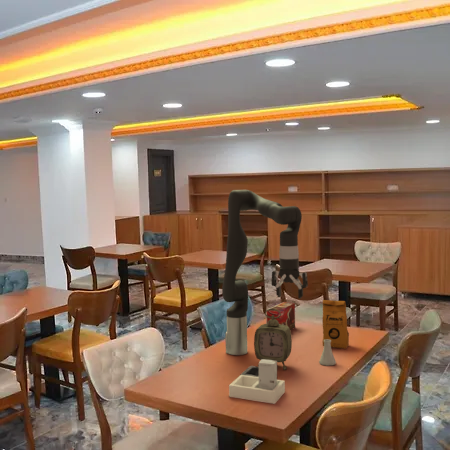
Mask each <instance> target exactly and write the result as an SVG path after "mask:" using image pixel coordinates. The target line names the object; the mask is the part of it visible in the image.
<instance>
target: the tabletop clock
mask: <svg viewBox="0 0 450 450" xmlns="http://www.w3.org/2000/svg"><path fill="white" fill-rule="evenodd" d="M269 310H274V311H278V312H279V313H280V311H279V310H277V309H270V308H268V310H267V309H265V311H264V316H265V317H268V318H271V319H270V320H269V321H268V322H267V324H266V323H263V324H260V326H258V327H257V328H256V329H255V332H254V335H253V336H254V337H253V340H254V341H253V347H254V354H255V357H256V359H257V360H258V361H261V359H265V360H274V361H277V363H281V364H282V365H283V367H282V369H283V370H284V371H286V370H287V369H288V368H287V366H286V365H285V362H286V361H287V360H288V358H289V357H290V355H291V353H292V347H293V346H292V345H293V344H292V343H293V340H292V330H290V328H289V327H288V326H286V325H281V324H279V322H278V321H277V320H276V319H277V318H279V317H280V316H281V313H280V316H278V317H274V315H272V317H269V316H267V315H266V312H267V311H269ZM257 367H259V363H258V365H257Z"/></svg>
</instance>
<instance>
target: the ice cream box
mask: <svg viewBox="0 0 450 450" xmlns="http://www.w3.org/2000/svg"><path fill="white" fill-rule="evenodd" d="M295 305H296V304H295V303H294V302H288V301H287V302H286V301H283V302H281V303H279V304H276V305H275V306H273V307H270V308H268V309H277V310H279V311H280V313H281V316H280V313H279V312H278V311H274V310H269V311H267V312H266V315H267V316H269V317H272V315H274V317H278V316H280V317H279V318H277V319H276V320H277V321H278V322H279V324H281V325H286V326H288V327H289V328H290V331H292V330H294V329H295V328H296V308H295V307H296V306H295ZM268 309H266V310H268ZM265 317H266V316H265ZM270 319H271V318H268V317H266V323H265V324H267V322H268V321H269V320H270ZM293 328H294V329H293Z"/></svg>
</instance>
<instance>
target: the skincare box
mask: <svg viewBox="0 0 450 450" xmlns="http://www.w3.org/2000/svg"><path fill="white" fill-rule="evenodd" d="M258 364H259V388H260V389H267V390H273V389H274V388H275V387H276V386H277V380H278V378H277V377H278V362H277V361H274V360H265V359H261V360H259V362H258Z"/></svg>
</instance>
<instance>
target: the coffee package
mask: <svg viewBox="0 0 450 450" xmlns="http://www.w3.org/2000/svg"><path fill="white" fill-rule="evenodd" d="M321 319H322V334H323V335H322V347H324V340H326V339H328V340H331V343H330V344H331V348H334V349H342V350H343V349H345V350H346V349H347V348H348V347H349V345H350V344H349V342H350V341H349V340H350V337H349V336H350V333H349V330H348V315H347V304H346V301H345V300H329V299H327V300H326V299H322V318H321Z"/></svg>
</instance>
